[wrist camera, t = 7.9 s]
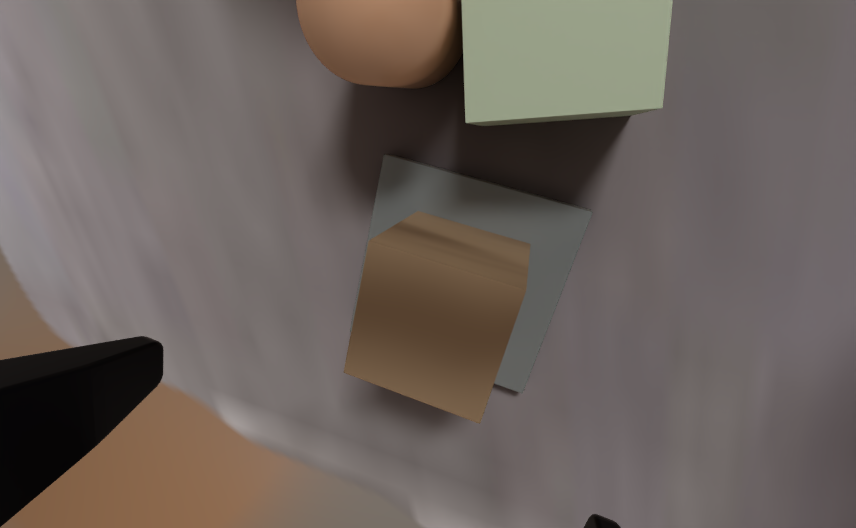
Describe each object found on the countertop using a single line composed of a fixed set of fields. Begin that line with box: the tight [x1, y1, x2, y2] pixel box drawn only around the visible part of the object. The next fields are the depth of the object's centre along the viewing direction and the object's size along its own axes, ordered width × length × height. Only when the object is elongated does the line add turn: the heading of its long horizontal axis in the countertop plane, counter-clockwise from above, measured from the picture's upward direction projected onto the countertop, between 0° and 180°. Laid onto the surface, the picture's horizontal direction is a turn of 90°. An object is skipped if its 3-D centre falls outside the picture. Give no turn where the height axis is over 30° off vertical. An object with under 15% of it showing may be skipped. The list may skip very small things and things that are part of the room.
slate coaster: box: [350, 154, 593, 393], centre depth 17 cm, size 8×8×1 cm
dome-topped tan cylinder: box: [296, 0, 463, 89], centre depth 13 cm, size 4×4×4 cm
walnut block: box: [344, 211, 530, 424], centre depth 14 cm, size 4×4×5 cm
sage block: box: [462, 0, 673, 126], centre depth 12 cm, size 5×5×4 cm
